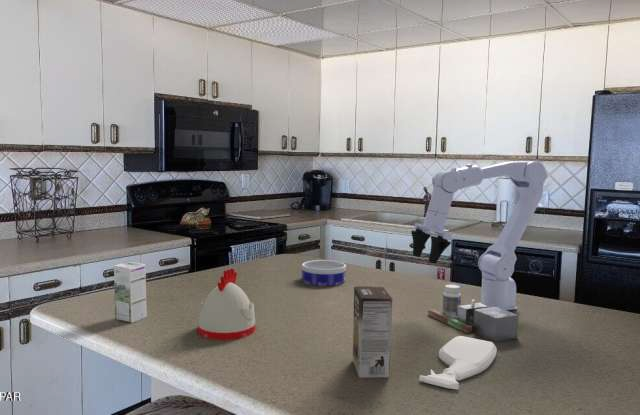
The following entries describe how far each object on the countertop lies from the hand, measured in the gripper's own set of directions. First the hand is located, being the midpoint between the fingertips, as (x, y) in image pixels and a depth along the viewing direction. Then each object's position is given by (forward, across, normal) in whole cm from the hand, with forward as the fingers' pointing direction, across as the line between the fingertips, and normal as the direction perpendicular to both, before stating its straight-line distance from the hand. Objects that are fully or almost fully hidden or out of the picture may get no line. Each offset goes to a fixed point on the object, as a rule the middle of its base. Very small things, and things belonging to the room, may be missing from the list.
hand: (424, 259), depth 146 cm
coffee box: (+22, +30, -29) cm, 47 cm away
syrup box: (+35, -21, -69) cm, 80 cm away
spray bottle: (+17, +36, -12) cm, 42 cm away
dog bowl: (+20, -42, -6) cm, 47 cm away
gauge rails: (+12, +12, +9) cm, 19 cm away
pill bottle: (+13, +7, +9) cm, 17 cm away
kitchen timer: (+29, -4, -49) cm, 57 cm away
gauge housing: (+12, +23, +8) cm, 28 cm away
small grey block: (+12, +18, +9) cm, 23 cm away
